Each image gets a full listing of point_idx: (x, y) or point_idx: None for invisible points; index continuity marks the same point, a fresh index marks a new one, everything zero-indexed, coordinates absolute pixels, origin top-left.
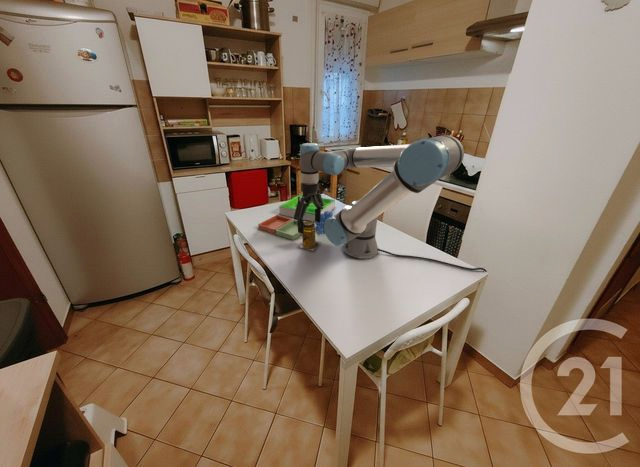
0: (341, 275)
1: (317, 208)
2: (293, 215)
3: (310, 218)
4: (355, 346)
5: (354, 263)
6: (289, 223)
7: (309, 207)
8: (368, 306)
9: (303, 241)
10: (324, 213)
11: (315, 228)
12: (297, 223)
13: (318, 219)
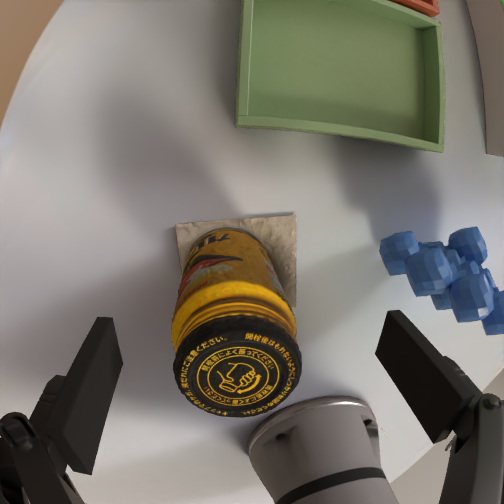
0: (131, 447)
1: (465, 413)
2: (475, 7)
3: (496, 111)
4: None
5: (217, 454)
6: (392, 10)
7: None
8: (96, 488)
9: (183, 270)
10: (496, 312)
11: (388, 243)
12: (38, 404)
13: (390, 360)
